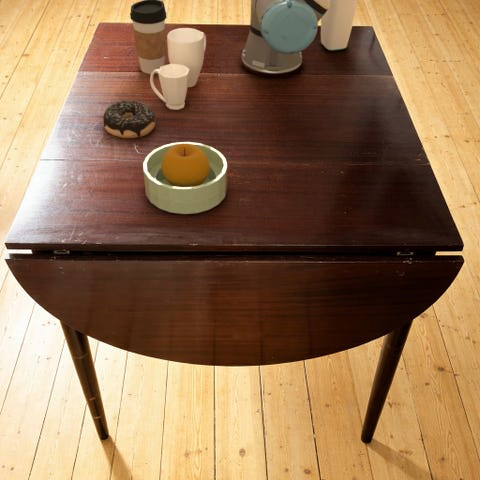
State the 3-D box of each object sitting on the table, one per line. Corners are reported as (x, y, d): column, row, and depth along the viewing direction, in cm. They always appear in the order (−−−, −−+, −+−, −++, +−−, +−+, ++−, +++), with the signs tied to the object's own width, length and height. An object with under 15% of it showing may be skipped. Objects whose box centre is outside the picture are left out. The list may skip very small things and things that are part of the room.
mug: (192, 95, 143) (190, 45, 134) (162, 85, 145) (159, 37, 137) (218, 75, 150) (219, 27, 141) (190, 66, 152) (189, 19, 144)
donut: (101, 140, 128) (99, 123, 125) (107, 112, 136) (105, 95, 133) (154, 141, 129) (153, 123, 126) (157, 112, 137) (156, 95, 134)
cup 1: (179, 115, 136) (178, 80, 130) (143, 103, 139) (140, 68, 133) (196, 102, 140) (196, 68, 134) (161, 91, 143) (158, 57, 138)
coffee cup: (175, 71, 151) (172, 7, 140) (145, 79, 147) (139, 14, 136) (159, 58, 155) (154, -5, 144) (129, 65, 152) (122, 2, 141)
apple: (160, 177, 119) (157, 135, 112) (205, 173, 120) (205, 132, 114) (165, 205, 113) (162, 163, 106) (213, 200, 114) (213, 158, 108)
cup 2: (351, 51, 161) (361, -10, 150) (326, 54, 160) (334, -7, 149) (340, 39, 166) (348, -20, 155) (315, 42, 164) (322, -17, 153)
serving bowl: (189, 159, 124) (188, 133, 120) (243, 192, 117) (244, 165, 113) (129, 190, 117) (125, 163, 112) (182, 227, 109) (181, 200, 105)
